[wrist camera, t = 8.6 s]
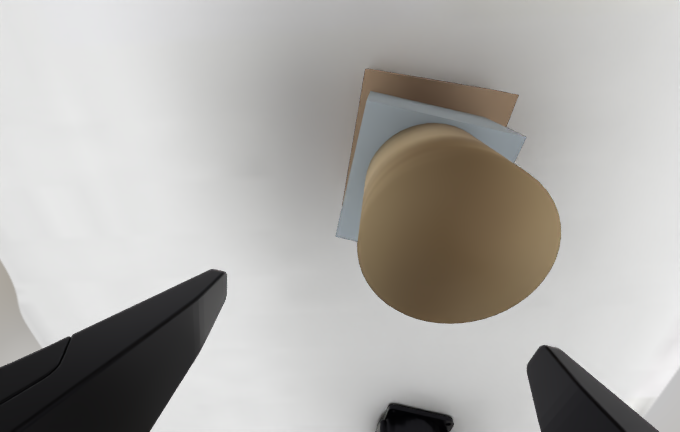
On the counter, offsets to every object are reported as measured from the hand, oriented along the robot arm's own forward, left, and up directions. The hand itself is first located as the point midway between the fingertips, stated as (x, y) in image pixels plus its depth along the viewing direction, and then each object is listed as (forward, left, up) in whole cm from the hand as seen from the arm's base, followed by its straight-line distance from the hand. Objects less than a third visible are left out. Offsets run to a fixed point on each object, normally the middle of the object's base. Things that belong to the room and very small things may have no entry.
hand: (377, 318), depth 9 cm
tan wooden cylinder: (-1, -3, -4) cm, 5 cm away
